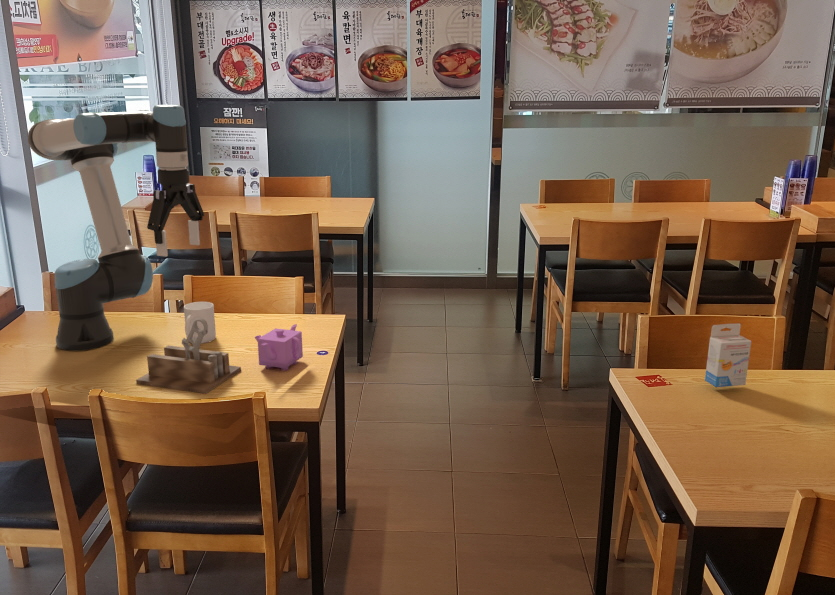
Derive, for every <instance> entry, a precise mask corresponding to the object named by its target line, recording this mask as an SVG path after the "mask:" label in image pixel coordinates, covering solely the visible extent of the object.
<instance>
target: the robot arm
mask: <svg viewBox="0 0 835 595" xmlns="http://www.w3.org/2000/svg"><path fill="white" fill-rule="evenodd" d="M187 137H188V136H187V121H186V116H185V108H184V107H183V106H182V105H180V104H179V105H178V104H156V105H154V106H153V108H152V111H150V110H148V109H147V110H146V109H145V110H141V109H140V110H135V111H118V112H116V111H115V112H114V111H113V112H85V113H84V112H83V113H79V114H77V115H75V117H73V118H50V119H44V120H41V121H38V122H36V123H35V124H33V125H32V126H31V127H30V129H29V130H28V132H27V143H28V145H29V147H30V149H31V150H32V152H34V154H36V155H37V156H39V157H40V158H43V159H46V160H49V161H70V163H71V167H72V168H73V169H74V170H75V171H78V173H79V175H80V179H81V182H82V186H83V189H84V193H85V196H86V200H87V204H88V206H89V211H90V215H91V218H92V222H93V225H94V229H95V232H96V237H97V240H98V244H99V247H100V250H101V251H100V253H99V255H98V256H97V260H96V259H94V258H85V259H77V260H72V261H69V262H66V263H64V264H61V265H60V266H59V267H57V268H56V270H54V288H55V293H56V300H57V307H58V314H59V322H58V326H57V327H58V328H57V334H56V336H55V342H56V343H55V344H56V347H57V348H58V349H59V350H62V351H69V352H70V351H71V352H79V351H80V352H83V351H89V350H94V349H97V348H98V349H99V348H103V347H105V346H107V345H110V344H111V343H113V342H114V340H115V339H114V332H113V330H112V328H111V326H110V325H109V321H108V320H107V317H106V315H105V310H104V309H105V308H104V304H106V303H111V302H117V301H121V300H126V299H131V298H132V299H134V298H136V297H138V296H143V295H146V294H147V293H148V292H149V291H150V290H151V288H152V286H153V280H154V270H153V266H152V263H151V260H150V259H149V257H148V256H146V255H143V254H141V253H140V249H139V248H138V247H136V246H134V245H133V243H132V241H131V236H130V234H129V233H130V232H129V229H128V226H127V223H126V219H125V215H124V211H123V207H122V204H121V200H120V197H119V196H120V195H119V193H118V189H117V187H116V182H115V179H114V175H113V171H112V168H111V167H112V164H113V162H114V161H115V158H114V157H115V156H116V155H117V153H118V149H119V147H118V144H123V143H124V144H125V143H141V142H142V143H143V142H154V144H155V158H156V166H157V167H158V169H157V180H158V184H160V185H161V187H162V188H161V190H157V189H155V190H153V192H152V193H153V198H152V199H153V200H152V204H151V208H150V213H149V218H148V221H147V227H146V228H147V230H150V231H153V233H154V242H155V247H156V248H155V249H156V256H158V257H159V256H160V257H168V254H169V253H168V243H167V242H168V241H167V231H166V230H164V228H165V227H166V224H167V222H168V219H169V216H170V214H171V212H172V209H174V208H175V207H176V206H178V205H180V207H181V208H182V209H183V211H184V212H185V213H186V215H187V216H188V218H189V219H190V220H189V219H188V221H187V224H188V225H187V226H188V238H189V240H188V241H189V245H190V246H191V245H192V246H200V245H201V240H200V221H201V222H202V221H203V219H204V218H203V217H204V216H205V212H204V210H203V207H202V205H201V203H200V200H199V197H198V195H197V192H196V186H195V184H194V183H190V170H189V169H188V166H189V159H188V139H187Z"/></svg>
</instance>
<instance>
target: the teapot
mask: <svg viewBox="0 0 835 595" xmlns="http://www.w3.org/2000/svg"><path fill="white" fill-rule="evenodd" d="M297 327H298V324H296V323H295V324H293V325H292V326H291V327H290V329H284V328H274V329H272V330H270V331H269V332H266V333H265V334H264V335H260V334H259V335H255V336H254V338H255V340H256V341H257V349H258V350H257V352H258V354H257V355H258V364H259V366H265V368H266V369H272V368H279V369H281V371H284V372H285V371H289V370H290V368H289V367H290V366H291V365H297V364H298V361H299V360H300V359H302V358H304V357H303V356H304V354H303V335H302V334H303V333H302V332H303V331H300V330H296V328H297Z"/></svg>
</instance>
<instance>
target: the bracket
mask: <svg viewBox="0 0 835 595" xmlns="http://www.w3.org/2000/svg"><path fill="white" fill-rule="evenodd" d="M198 321H200V322H201V323H202V324H203V326H204V330H201V329H199V328H198V326H197V322H198ZM194 332H196V333H197V334H198V337H197V338H196V340H194V339H192V338H193V334H194ZM207 332H208V324H207V322H206V321H205V320H204V319H202V318H199V319H197V320H195V321H194V323H193V325H192V328H191V331H190V333H189V335H188V337H183V338H182V339H181V345H182V346H183V347H185V353H186V359H191V358H190V351H192V352H193V356H194V360H200V354H199V349H200V346H201V344H202V343H201V341H202V339H203V337H204V335H206V334H207ZM190 342H191V343H190ZM200 343H201V344H200ZM191 344H192V346H191Z"/></svg>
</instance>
